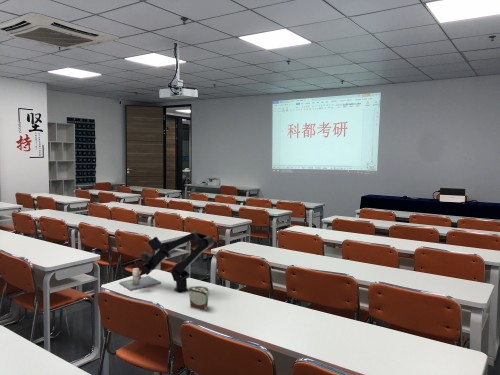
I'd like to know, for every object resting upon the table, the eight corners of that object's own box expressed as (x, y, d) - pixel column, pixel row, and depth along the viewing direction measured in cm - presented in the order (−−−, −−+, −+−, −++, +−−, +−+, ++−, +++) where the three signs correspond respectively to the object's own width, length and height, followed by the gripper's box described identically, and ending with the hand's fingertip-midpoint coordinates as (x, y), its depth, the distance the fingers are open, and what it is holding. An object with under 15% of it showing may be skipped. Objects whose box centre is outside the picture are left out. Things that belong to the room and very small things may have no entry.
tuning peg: (134, 278, 237) (133, 263, 236) (141, 277, 238) (141, 263, 237) (131, 285, 224) (131, 270, 224) (139, 284, 225) (139, 269, 224)
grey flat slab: (160, 283, 231) (160, 282, 231) (130, 290, 219) (130, 289, 218) (148, 277, 243) (148, 275, 243) (119, 283, 231) (119, 281, 231)
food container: (214, 307, 196) (214, 288, 195) (207, 312, 191) (207, 292, 190) (196, 302, 202) (196, 284, 201) (188, 306, 197) (188, 287, 196)
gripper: (154, 243, 234) (136, 260, 235) (143, 251, 215) (124, 269, 217) (166, 256, 234) (149, 273, 235) (157, 265, 215) (138, 284, 217)
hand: (140, 274), depth 226 cm, fingers closed
